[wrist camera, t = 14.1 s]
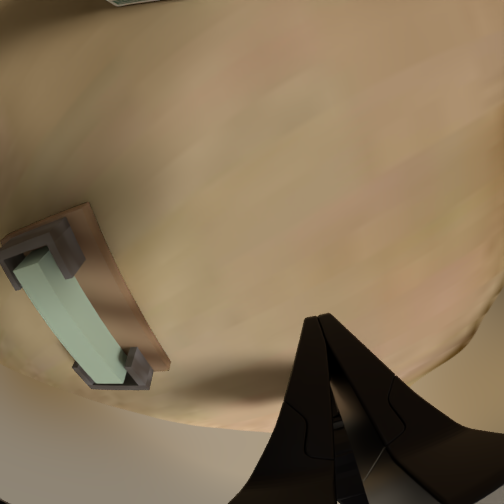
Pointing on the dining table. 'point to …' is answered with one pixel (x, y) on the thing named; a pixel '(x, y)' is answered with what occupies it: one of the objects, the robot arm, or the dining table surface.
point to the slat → (71, 317)
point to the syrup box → (127, 2)
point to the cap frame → (92, 288)
